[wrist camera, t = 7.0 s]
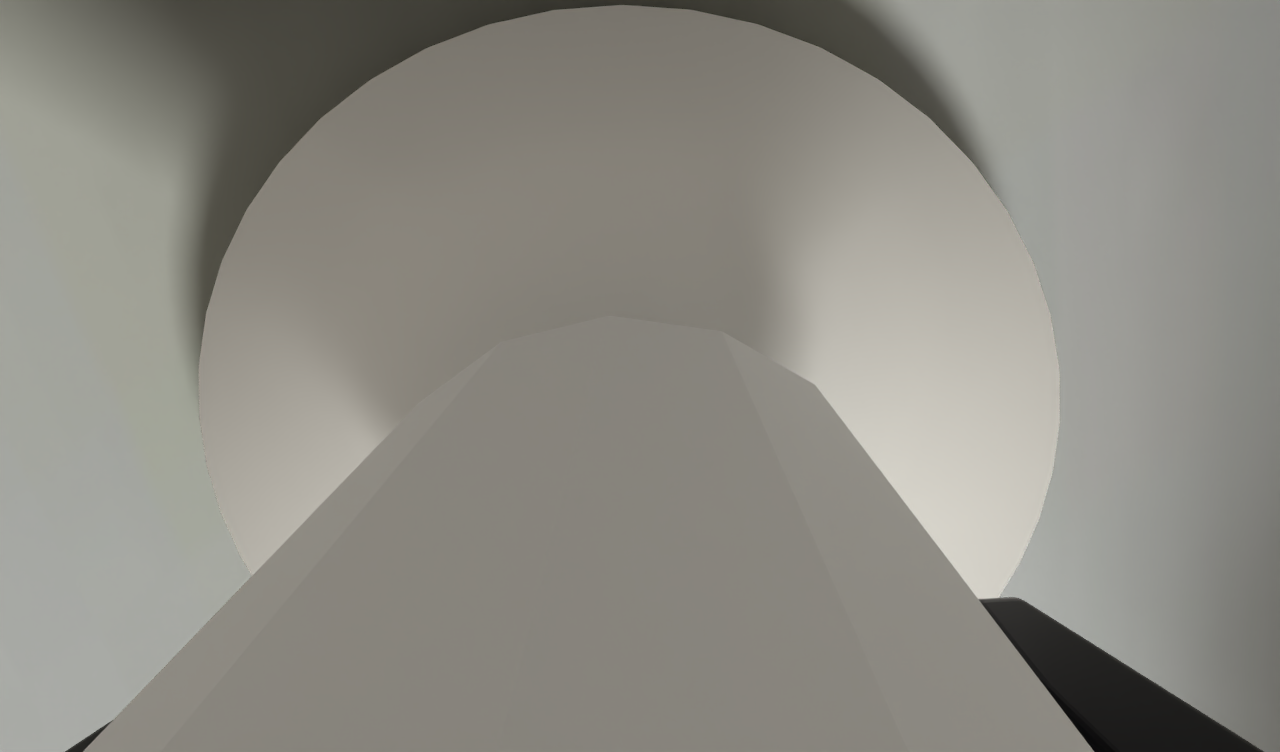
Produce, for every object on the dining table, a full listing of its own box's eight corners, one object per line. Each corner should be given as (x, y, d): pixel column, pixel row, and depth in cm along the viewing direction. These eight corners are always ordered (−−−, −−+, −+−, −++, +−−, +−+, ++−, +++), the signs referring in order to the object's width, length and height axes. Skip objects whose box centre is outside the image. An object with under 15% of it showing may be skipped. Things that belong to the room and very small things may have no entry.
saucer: (349, -161, 9) (315, -184, 8) (1196, 226, 10) (1249, 243, 9) (170, 603, 13) (132, 647, 12) (803, 807, 14) (813, 860, 13)
